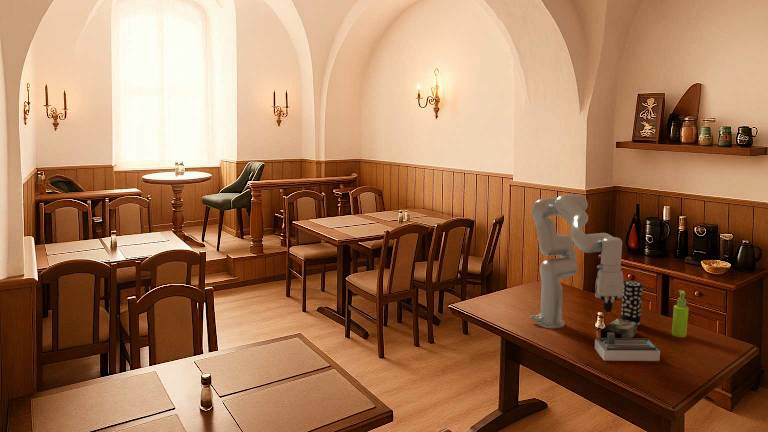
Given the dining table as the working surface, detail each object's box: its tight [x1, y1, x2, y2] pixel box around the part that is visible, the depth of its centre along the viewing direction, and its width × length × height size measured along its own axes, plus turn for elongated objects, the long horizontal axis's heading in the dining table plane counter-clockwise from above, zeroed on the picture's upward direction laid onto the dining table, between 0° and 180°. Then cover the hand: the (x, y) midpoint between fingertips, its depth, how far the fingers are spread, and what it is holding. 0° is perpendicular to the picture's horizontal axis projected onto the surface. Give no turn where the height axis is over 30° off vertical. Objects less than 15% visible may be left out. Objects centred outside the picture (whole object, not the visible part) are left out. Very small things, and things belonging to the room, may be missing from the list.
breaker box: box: [594, 337, 661, 362], centre depth 238 cm, size 22×12×5 cm, turn 87°
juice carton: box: [599, 318, 638, 339], centre depth 257 cm, size 20×10×6 cm, turn 138°
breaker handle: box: [606, 332, 616, 344], centre depth 238 cm, size 2×2×5 cm
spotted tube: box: [620, 280, 644, 328], centre depth 270 cm, size 8×8×20 cm
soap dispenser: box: [671, 289, 690, 338], centre depth 257 cm, size 6×7×20 cm
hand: (607, 310), depth 236 cm, fingers closed
